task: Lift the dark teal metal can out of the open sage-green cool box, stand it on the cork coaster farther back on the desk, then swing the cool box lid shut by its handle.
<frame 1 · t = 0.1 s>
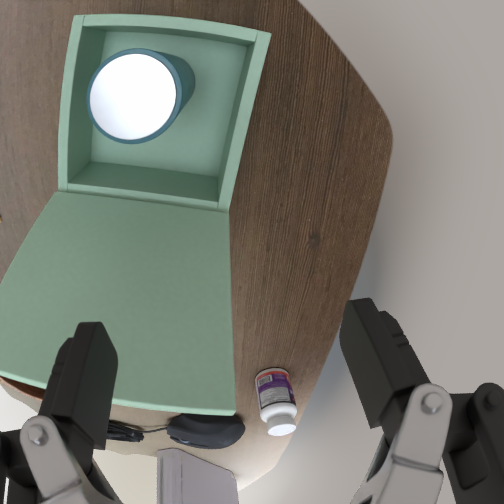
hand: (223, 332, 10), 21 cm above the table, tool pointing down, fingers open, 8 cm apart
game console: (200, 463, 69), on the table
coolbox: (163, 101, 25), on the table
can: (164, 83, 23), point 1 cm above the table, touching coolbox
pill bottle: (271, 375, 48), on the table
computer mouse: (163, 423, 54), on the table
bowl: (44, 330, 38), on the table
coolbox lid: (115, 299, 18), point 14 cm above the table, hinge at 100.0°
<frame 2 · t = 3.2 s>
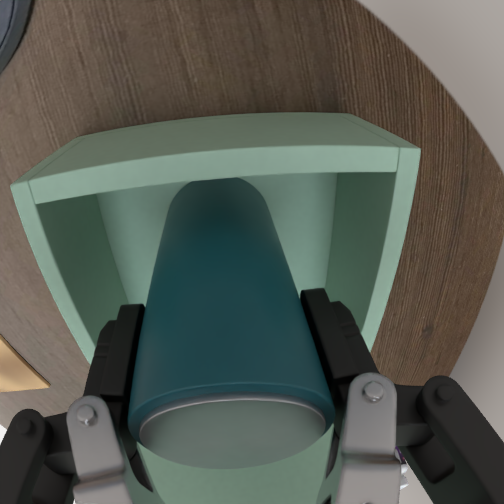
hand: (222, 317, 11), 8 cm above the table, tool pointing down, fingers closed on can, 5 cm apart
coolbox: (221, 241, 18), on the table
can: (218, 222, 16), point 1 cm above the table, touching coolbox, gripper
pill bottle: (377, 435, 39), on the table
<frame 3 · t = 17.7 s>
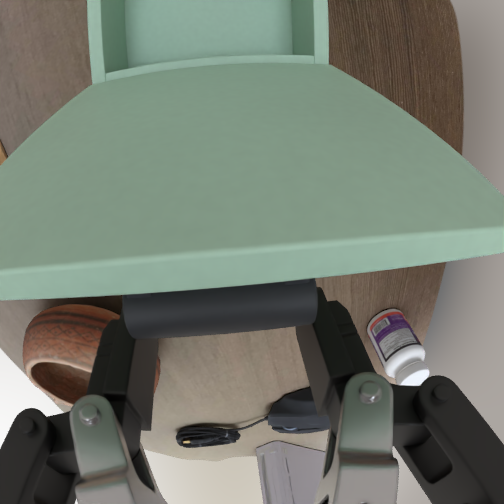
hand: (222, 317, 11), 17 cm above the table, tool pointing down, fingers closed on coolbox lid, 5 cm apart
game console: (303, 452, 63), on the table
pill bottle: (384, 321, 39), on the table
computer mouse: (261, 414, 49), on the table
bowl: (100, 326, 34), on the table
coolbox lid: (211, 162, 11), point 14 cm above the table, hinge at 100.0°, touching gripper
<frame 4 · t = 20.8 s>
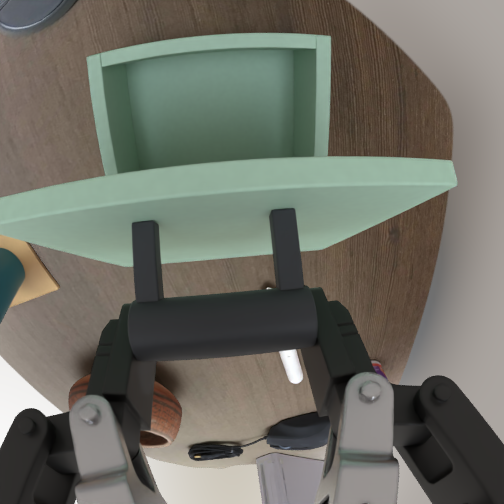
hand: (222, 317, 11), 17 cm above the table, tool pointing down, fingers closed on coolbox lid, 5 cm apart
game console: (298, 460, 70), on the table
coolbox: (213, 127, 23), on the table
coaster: (8, 264, 27), on the table
can: (6, 267, 27), resting on coaster
computer mouse: (261, 434, 56), on the table
marker: (282, 333, 38), on the table
bowl: (128, 378, 41), on the table
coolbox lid: (222, 278, 14), point 14 cm above the table, hinge at 48.4°, touching gripper
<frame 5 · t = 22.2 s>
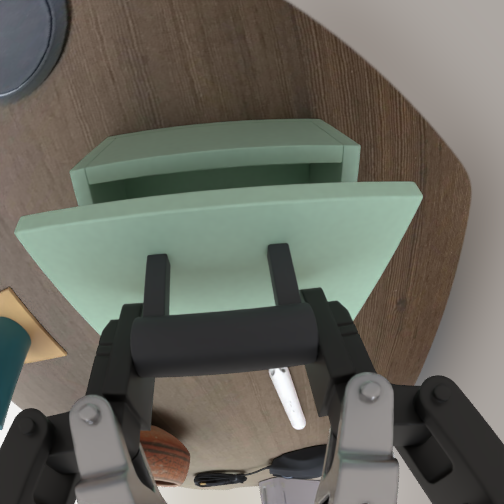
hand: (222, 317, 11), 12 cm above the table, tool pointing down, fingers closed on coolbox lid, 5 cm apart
game console: (299, 481, 69), on the table
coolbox: (220, 218, 22), on the table
coaster: (12, 330, 27), on the table
can: (12, 333, 26), resting on coaster
computer mouse: (264, 463, 55), on the table
marker: (287, 389, 37), on the table
bowl: (137, 424, 40), on the table
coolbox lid: (229, 351, 14), point 11 cm above the table, hinge at 18.6°, touching gripper
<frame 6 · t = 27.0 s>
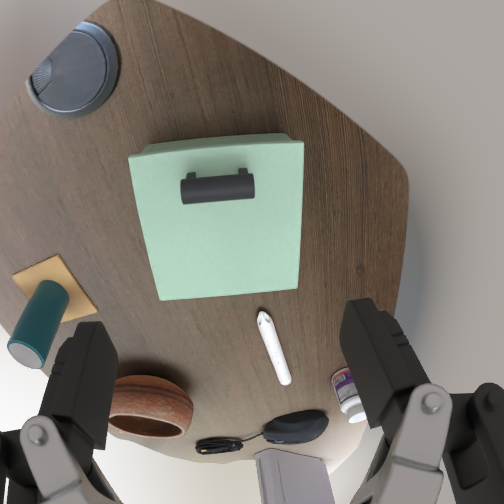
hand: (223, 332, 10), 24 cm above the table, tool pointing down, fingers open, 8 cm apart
game console: (292, 456, 79), on the table
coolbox: (220, 200, 33), on the table
coaster: (53, 292, 38), on the table
can: (53, 294, 37), resting on coaster
pill bottle: (344, 373, 55), on the table
computer mouse: (259, 430, 65), on the table
marker: (273, 344, 48), on the table
bowl: (149, 381, 50), on the table
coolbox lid: (222, 240, 26), point 9 cm above the table, hinge at -0.2°
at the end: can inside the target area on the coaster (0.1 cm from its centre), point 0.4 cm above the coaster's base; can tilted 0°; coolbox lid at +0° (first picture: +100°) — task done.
